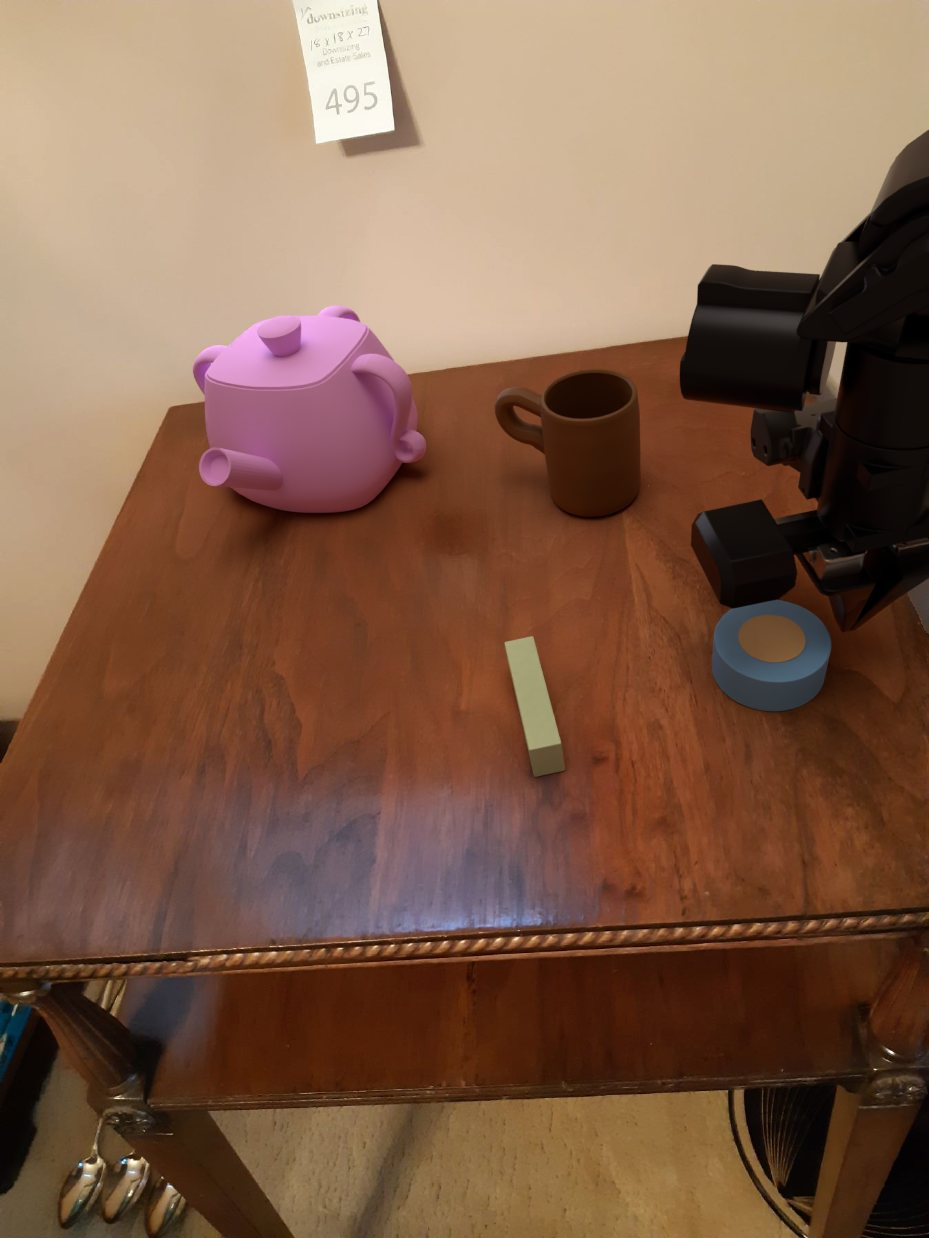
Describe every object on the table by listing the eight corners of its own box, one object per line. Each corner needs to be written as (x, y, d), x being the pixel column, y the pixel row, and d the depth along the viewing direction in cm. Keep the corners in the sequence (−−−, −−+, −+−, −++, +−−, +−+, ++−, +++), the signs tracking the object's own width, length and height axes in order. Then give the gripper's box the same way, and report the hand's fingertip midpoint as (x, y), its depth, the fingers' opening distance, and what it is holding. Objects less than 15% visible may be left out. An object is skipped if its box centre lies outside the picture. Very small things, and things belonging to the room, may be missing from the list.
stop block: (537, 664, 59) (533, 635, 56) (565, 770, 52) (561, 743, 50) (509, 670, 59) (504, 641, 56) (534, 777, 52) (528, 750, 50)
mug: (488, 503, 72) (470, 409, 65) (523, 451, 76) (510, 358, 69) (623, 527, 67) (619, 428, 60) (653, 470, 71) (652, 371, 64)
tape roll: (798, 620, 57) (803, 588, 55) (843, 698, 52) (852, 667, 50) (697, 641, 58) (698, 610, 55) (733, 721, 53) (736, 691, 50)
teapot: (398, 388, 87) (363, 251, 77) (455, 499, 73) (421, 349, 63) (221, 444, 86) (161, 312, 75) (243, 570, 71) (172, 427, 61)
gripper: (990, 305, 47) (925, 516, 58) (664, 375, 48) (662, 572, 59) (1123, 409, 40) (1020, 630, 51) (733, 492, 40) (716, 693, 51)
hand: (845, 626), depth 53 cm, fingers closed
